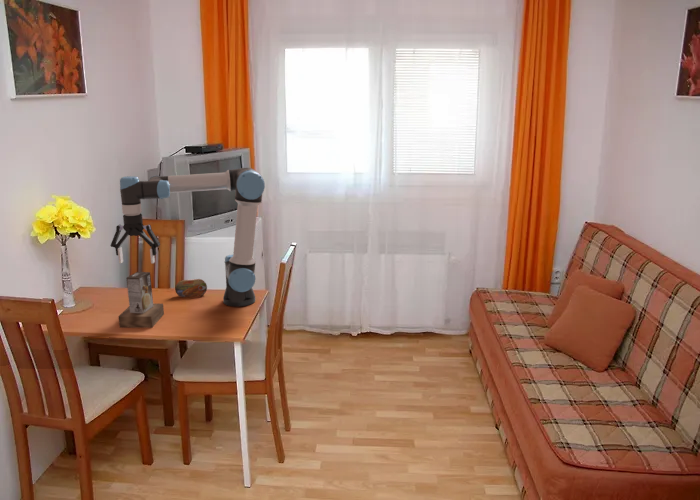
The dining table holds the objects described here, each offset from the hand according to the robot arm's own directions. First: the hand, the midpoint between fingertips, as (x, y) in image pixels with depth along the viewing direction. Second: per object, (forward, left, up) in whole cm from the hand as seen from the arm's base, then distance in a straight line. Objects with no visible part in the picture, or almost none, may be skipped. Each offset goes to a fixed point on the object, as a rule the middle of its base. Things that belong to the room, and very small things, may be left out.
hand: (137, 262), depth 252 cm
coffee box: (0, 0, -22) cm, 22 cm away
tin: (-13, -33, -27) cm, 44 cm away
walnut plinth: (0, 0, -26) cm, 26 cm away
